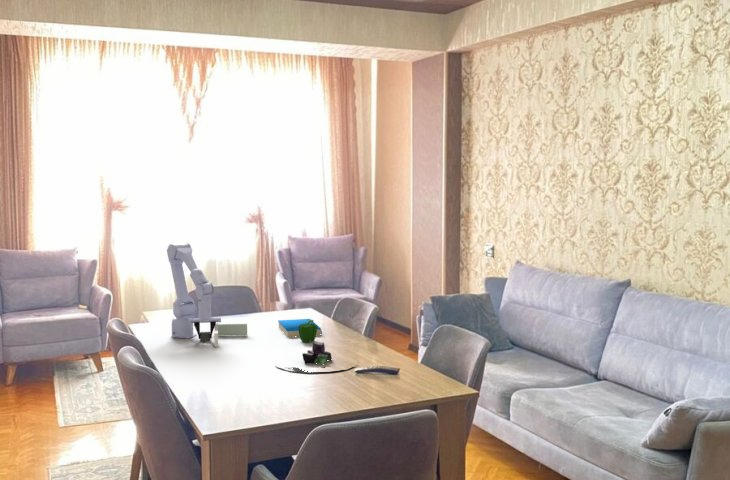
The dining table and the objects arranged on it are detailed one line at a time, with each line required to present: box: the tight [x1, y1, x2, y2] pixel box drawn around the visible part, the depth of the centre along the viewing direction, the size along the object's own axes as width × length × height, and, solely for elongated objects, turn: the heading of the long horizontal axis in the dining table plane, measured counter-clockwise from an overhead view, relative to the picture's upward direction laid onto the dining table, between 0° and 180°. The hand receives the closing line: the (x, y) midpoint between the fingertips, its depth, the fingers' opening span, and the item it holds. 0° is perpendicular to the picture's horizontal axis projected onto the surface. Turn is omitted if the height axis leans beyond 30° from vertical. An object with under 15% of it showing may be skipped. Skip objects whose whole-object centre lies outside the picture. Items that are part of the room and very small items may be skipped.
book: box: [277, 318, 323, 338], centre depth 365 cm, size 17×4×25 cm
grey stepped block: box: [199, 331, 211, 343], centre depth 345 cm, size 8×4×4 cm, turn 11°
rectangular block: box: [213, 322, 219, 348], centre depth 345 cm, size 28×2×6 cm, turn 11°
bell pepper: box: [299, 319, 317, 343], centre depth 342 cm, size 8×8×10 cm
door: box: [218, 323, 248, 337], centre depth 353 cm, size 14×2×6 cm, turn 96°
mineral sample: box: [275, 342, 333, 374], centre depth 304 cm, size 35×35×9 cm
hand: (205, 338), depth 342 cm, fingers closed on grey stepped block, 4 cm apart
